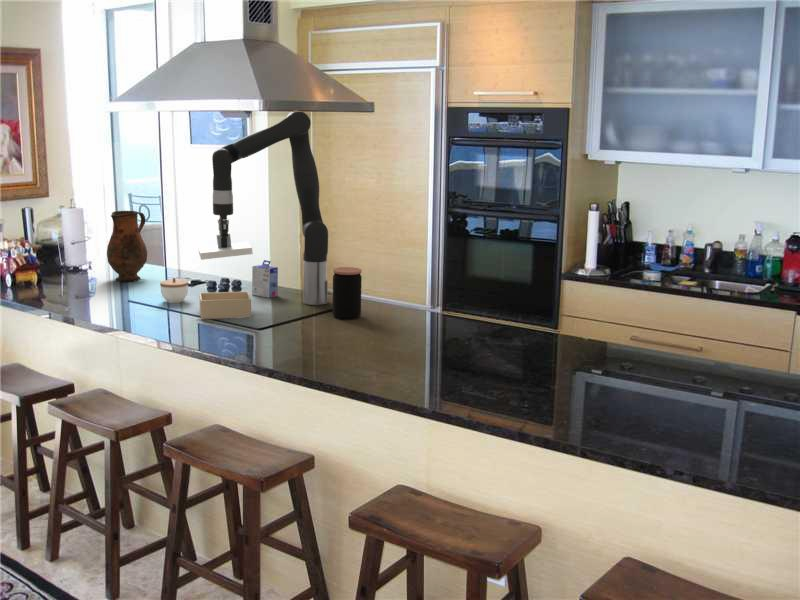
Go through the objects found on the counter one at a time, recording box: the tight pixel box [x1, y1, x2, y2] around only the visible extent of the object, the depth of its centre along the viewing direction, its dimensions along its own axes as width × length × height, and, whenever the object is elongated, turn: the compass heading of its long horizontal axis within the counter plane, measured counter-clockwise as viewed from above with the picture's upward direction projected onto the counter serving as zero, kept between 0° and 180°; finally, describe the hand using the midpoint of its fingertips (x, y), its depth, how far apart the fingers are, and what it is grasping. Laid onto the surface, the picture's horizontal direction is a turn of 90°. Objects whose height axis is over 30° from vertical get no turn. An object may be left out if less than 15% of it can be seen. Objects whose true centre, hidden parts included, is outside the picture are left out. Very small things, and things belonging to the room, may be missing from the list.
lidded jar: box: [159, 277, 189, 304], centre depth 319 cm, size 11×11×9 cm
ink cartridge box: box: [251, 259, 279, 299], centre depth 333 cm, size 10×6×14 cm, turn 58°
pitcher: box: [106, 210, 148, 283], centre depth 356 cm, size 17×21×30 cm
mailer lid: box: [197, 232, 253, 261], centre depth 311 cm, size 19×14×8 cm
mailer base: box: [199, 291, 252, 320], centre depth 301 cm, size 18×13×7 cm
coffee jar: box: [332, 266, 363, 321], centre depth 302 cm, size 11×11×18 cm
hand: (223, 247), depth 311 cm, fingers closed on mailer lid, 1 cm apart
